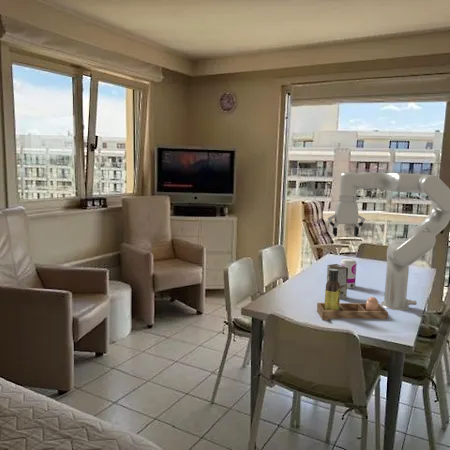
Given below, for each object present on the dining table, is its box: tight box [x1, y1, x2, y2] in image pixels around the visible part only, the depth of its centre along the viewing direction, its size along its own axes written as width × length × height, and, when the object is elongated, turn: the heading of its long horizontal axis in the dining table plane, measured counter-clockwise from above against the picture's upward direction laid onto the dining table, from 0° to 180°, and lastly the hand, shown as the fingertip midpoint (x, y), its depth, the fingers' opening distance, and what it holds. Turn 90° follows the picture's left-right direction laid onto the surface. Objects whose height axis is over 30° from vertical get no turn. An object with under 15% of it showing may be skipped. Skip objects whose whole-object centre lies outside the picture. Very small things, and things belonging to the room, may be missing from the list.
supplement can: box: [340, 257, 358, 289], centre depth 235 cm, size 8×8×15 cm
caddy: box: [316, 302, 389, 321], centre depth 191 cm, size 28×11×4 cm, turn 90°
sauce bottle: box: [324, 269, 341, 311], centre depth 190 cm, size 6×6×20 cm
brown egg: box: [365, 296, 379, 311], centre depth 191 cm, size 5×5×8 cm
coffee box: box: [326, 263, 348, 300], centre depth 216 cm, size 9×6×16 cm
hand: (345, 235), depth 202 cm, fingers open, 9 cm apart
